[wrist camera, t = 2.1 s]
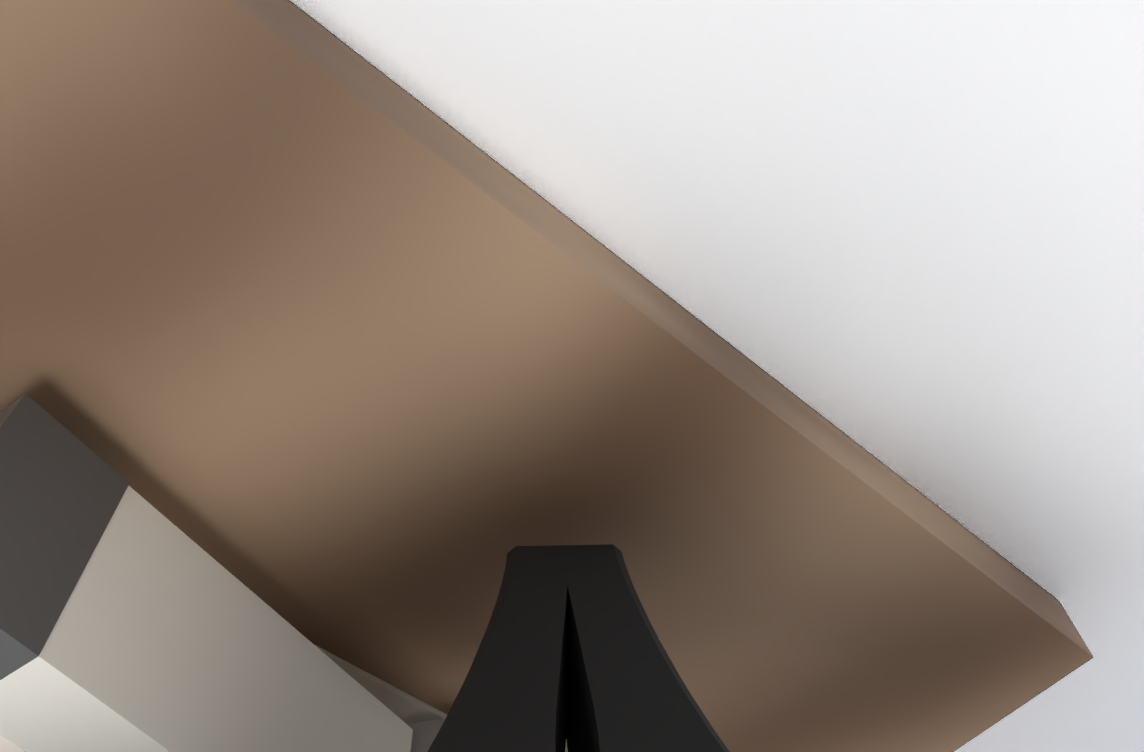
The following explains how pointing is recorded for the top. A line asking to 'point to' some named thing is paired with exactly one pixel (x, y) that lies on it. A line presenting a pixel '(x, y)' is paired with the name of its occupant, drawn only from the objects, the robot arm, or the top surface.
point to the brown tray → (451, 392)
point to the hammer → (148, 626)
